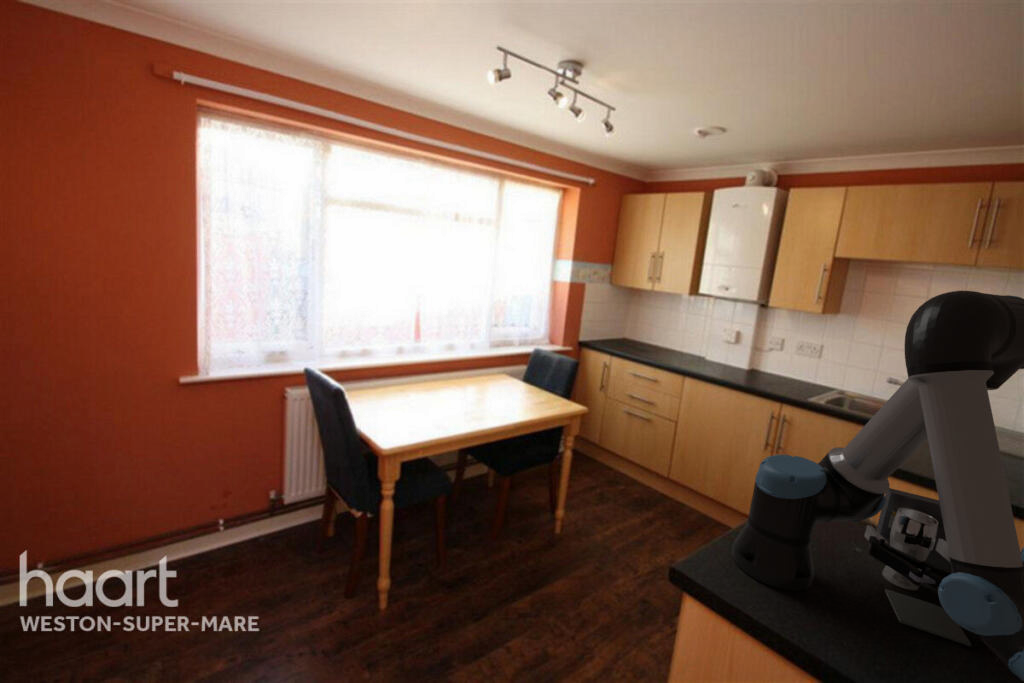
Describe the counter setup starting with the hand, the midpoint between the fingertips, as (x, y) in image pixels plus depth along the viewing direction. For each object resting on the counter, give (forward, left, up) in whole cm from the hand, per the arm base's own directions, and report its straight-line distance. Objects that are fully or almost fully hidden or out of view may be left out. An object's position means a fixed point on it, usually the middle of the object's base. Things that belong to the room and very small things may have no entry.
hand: (902, 537), depth 100 cm
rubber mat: (+2, -14, -9) cm, 16 cm away
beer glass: (+1, -3, -9) cm, 9 cm away
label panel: (+7, +6, -9) cm, 13 cm away
